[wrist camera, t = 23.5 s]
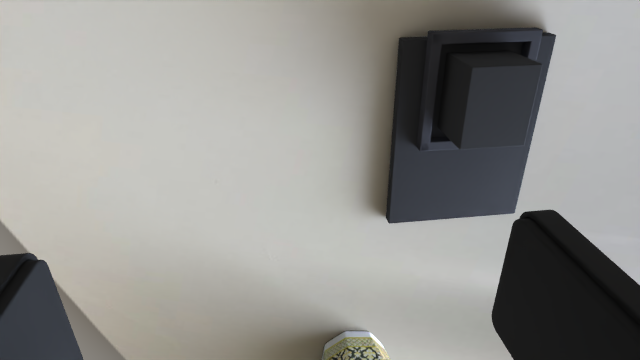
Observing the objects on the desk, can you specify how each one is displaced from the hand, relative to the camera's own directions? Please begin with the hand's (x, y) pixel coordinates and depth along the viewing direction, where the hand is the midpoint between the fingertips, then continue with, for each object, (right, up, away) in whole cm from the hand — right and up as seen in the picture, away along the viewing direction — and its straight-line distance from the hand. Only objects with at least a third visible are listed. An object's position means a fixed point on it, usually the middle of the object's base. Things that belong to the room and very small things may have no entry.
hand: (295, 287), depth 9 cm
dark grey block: (+12, +9, +26) cm, 30 cm away
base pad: (+12, +6, +28) cm, 32 cm away
